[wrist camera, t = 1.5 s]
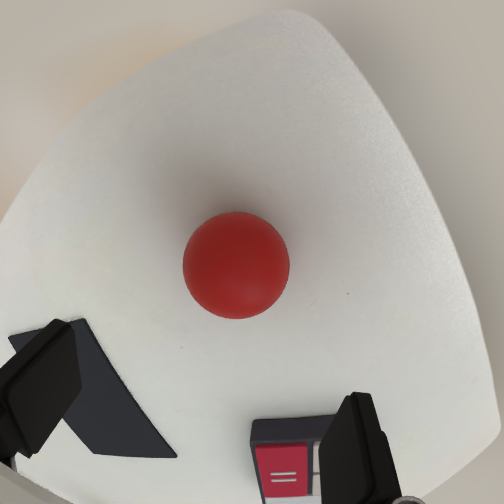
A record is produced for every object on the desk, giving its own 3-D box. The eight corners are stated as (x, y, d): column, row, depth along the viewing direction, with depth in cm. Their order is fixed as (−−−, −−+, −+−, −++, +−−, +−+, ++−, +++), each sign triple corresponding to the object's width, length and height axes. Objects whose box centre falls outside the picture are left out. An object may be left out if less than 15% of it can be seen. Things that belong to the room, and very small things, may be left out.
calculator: (371, 437, 23) (354, 508, 27) (363, 406, 27) (351, 482, 31) (247, 447, 24) (263, 514, 28) (252, 415, 29) (265, 489, 33)
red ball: (184, 219, 22) (149, 249, 16) (272, 190, 21) (269, 210, 15) (216, 299, 24) (196, 349, 18) (299, 277, 23) (305, 324, 17)
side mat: (9, 336, 28) (7, 337, 28) (84, 318, 26) (82, 320, 25) (94, 451, 34) (93, 453, 34) (177, 455, 32) (176, 458, 31)
